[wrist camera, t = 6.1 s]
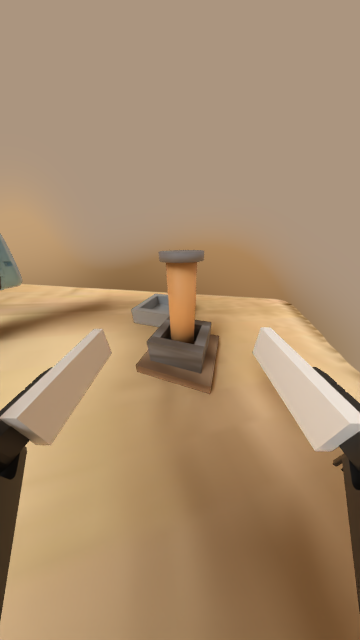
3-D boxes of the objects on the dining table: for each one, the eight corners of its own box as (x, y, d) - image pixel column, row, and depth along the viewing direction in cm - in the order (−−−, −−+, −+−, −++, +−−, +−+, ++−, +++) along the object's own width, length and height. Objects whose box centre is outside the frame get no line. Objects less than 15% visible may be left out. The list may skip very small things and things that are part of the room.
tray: (178, 330, 32) (178, 316, 30) (134, 322, 36) (131, 309, 34) (192, 308, 43) (192, 297, 41) (156, 304, 47) (155, 293, 45)
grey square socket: (210, 393, 18) (214, 366, 16) (137, 371, 22) (130, 346, 19) (218, 341, 28) (221, 319, 26) (166, 332, 32) (165, 311, 29)
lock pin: (193, 363, 21) (198, 252, 13) (162, 355, 23) (149, 252, 15) (200, 342, 26) (207, 250, 18) (174, 337, 28) (169, 250, 20)
